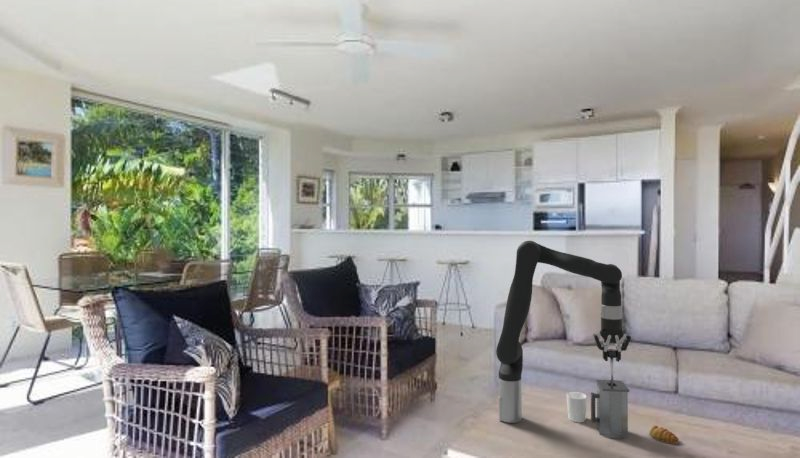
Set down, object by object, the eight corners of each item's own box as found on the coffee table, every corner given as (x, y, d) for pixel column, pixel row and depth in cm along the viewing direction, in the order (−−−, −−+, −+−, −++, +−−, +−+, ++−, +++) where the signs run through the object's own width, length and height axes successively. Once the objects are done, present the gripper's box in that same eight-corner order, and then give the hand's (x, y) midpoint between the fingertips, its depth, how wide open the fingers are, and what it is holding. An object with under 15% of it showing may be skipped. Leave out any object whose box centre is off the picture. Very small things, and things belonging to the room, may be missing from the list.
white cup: (583, 415, 198) (583, 391, 198) (589, 423, 190) (589, 399, 190) (564, 414, 199) (564, 391, 198) (569, 423, 191) (569, 398, 191)
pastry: (682, 442, 174) (682, 432, 174) (672, 447, 170) (672, 437, 170) (656, 432, 182) (656, 422, 181) (647, 437, 178) (647, 427, 178)
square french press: (594, 437, 178) (594, 388, 178) (588, 425, 188) (588, 379, 187) (630, 439, 176) (630, 389, 175) (622, 427, 186) (621, 380, 185)
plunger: (603, 392, 178) (603, 353, 178) (598, 385, 186) (598, 347, 185) (626, 393, 177) (625, 353, 176) (619, 386, 185) (619, 347, 184)
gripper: (594, 318, 178) (594, 363, 178) (634, 318, 176) (634, 364, 176) (589, 314, 185) (590, 357, 186) (627, 314, 183) (628, 358, 184)
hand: (611, 360), depth 181 cm, fingers closed on plunger, 3 cm apart
